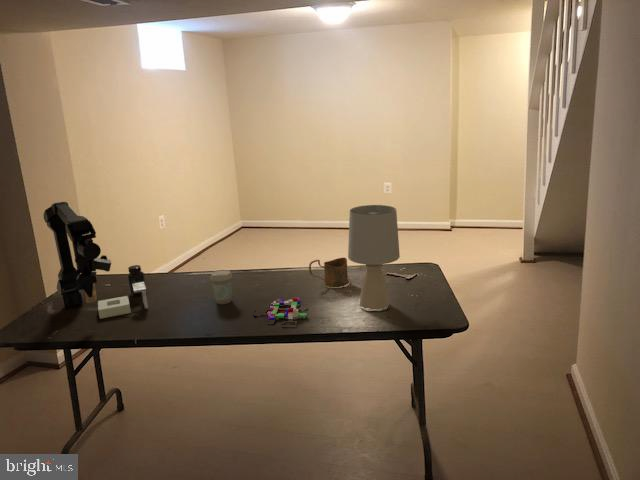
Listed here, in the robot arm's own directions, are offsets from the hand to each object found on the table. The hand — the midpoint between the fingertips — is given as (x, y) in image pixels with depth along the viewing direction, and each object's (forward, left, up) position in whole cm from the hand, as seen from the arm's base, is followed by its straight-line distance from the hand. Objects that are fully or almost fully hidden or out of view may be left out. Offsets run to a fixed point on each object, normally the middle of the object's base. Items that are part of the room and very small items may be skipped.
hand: (90, 295), depth 184 cm
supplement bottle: (+17, +24, -11) cm, 32 cm away
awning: (+17, +9, -11) cm, 22 cm away
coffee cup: (+47, -3, -11) cm, 48 cm away
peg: (0, 0, -2) cm, 2 cm away
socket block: (+7, +9, -11) cm, 16 cm away
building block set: (+63, -25, -12) cm, 69 cm away
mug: (+91, -8, -11) cm, 92 cm away
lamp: (+96, -37, -11) cm, 103 cm away
